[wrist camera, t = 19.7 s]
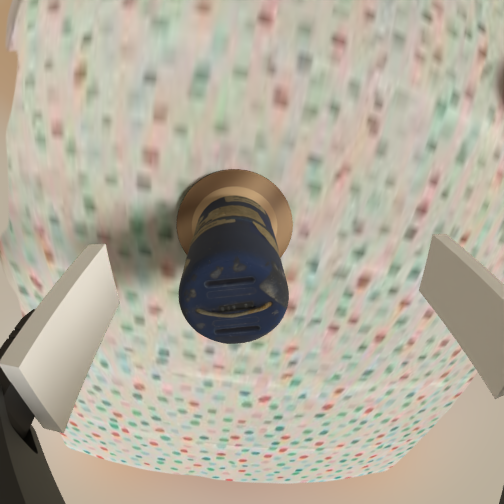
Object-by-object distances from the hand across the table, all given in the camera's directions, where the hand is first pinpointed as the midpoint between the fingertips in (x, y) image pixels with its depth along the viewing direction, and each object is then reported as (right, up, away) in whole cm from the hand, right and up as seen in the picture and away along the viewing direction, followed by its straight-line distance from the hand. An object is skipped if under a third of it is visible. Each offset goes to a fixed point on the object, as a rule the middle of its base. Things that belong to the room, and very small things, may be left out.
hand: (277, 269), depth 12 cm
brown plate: (-3, +4, +30) cm, 30 cm away
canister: (-3, +4, +29) cm, 30 cm away
